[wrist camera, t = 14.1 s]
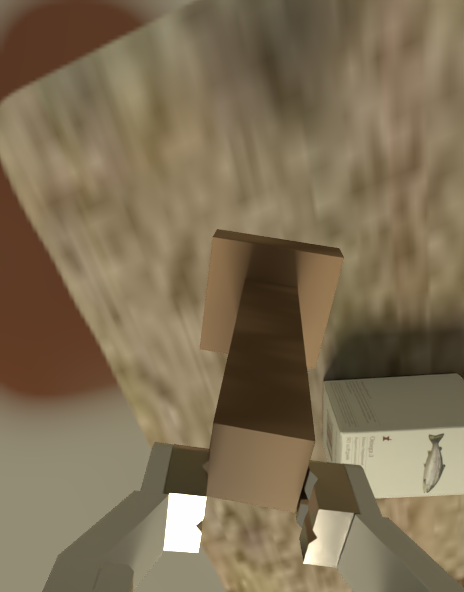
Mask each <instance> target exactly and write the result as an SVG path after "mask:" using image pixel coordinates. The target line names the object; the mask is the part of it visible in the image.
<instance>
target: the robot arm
mask: <svg viewBox="0 0 464 592" xmlns="http://www.w3.org/2000/svg"><path fill="white" fill-rule="evenodd" d="M209 460H210V451H209V449H205V448H198V447H190V446H183V445H176V444H174V446H173V445H172V444H166V443H158V442H155V443H154V445H153V446H152V450H151V454H150V458H149V461H148V465H147V469H146V472H145V476H144V480H143V483H142V487H141V491H134V492H133V493H131V494H130V495H129V496H128V497H126V498H125V499H124V500H123V501H122V502H121V503H119V504H118V505H117V506H116V507H115V508H113V509H112V510H111V511H110V512H109V513H108V514H106V515H105V516H104V517H103V518H102V519H101V520H99V521H98V522H97V523H96V524H95V525H93V526H92V527H91V528H90V529H89V530H88V531H87V532H85V533H84V534H83V535H82V536H81V537H79V538H78V539H77V540H76V541H75V542H73V544H71V545H70V546H69V547H68V548H66V549H65V550H64V551H63V552H62V553H61V554H59V555H58V557H57V559H56V562H55V564H54V566H53V568H52V571H51V573H50V575H49V578H48V580H47V582H46V584H45V587H44V589H43V591H42V592H133V591H134V590H135V588H136V587H137V586H138V584H139V583H140V582H141V580H142V579H143V578H144V577H145V575H146V574H147V573H148V572H149V570H150V569H151V568H152V566H153V565H154V564H155V563H156V561H157V560H158V559H159V558H160V556H161V555H162V554H163V552H164V550H170V551H184V552H185V551H186V552H198V550H199V544H200V537H201V530H202V519H203V517H204V510H205V502H206V494H207V483H208V467H209ZM295 514H296V521H297V523H298V524H299V525H300V527H301V528H302V529H301V533H300V537H299V540H300V546H301V552H302V558H303V563H305V564H313V565H320V566H328V567H336V568H337V570H338V572H339V573H340V575H341V576H342V578H343V579H344V580H345V582H346V583H347V585H348V586H349V588H350V589H351V590H352V592H464V588H463V587H462V586H461V585H460V584H459V583H458V582H457V581H456V580H455V579H454V578H452V577H451V576H450V575H449V574H448V573H447V572H446V571H445V570H444V569H443V568H442V567H441V566H440V565H439V564H437V563H436V562H435V561H434V560H433V559H432V558H431V557H430V556H429V555H428V554H427V553H426V552H425V551H423V550H422V549H421V548H420V547H419V546H418V545H417V544H416V543H415V542H414V541H413V540H412V539H411V538H409V537H408V536H407V535H406V534H405V533H404V532H403V531H402V530H401V529H400V528H399V527H398V526H397V525H396V524H394V523H393V522H392V521H391V520H390V519H389V518H386V517H382V514H381V512H380V509H379V507H378V504H377V502H376V499H375V497H374V494H373V492H372V489H371V487H370V484H369V482H368V479H367V477H366V474H365V472H364V469H363V467H362V466H361V465H354V464H344V463H342V464H340V463H331V462H322V461H312V460H310V462H309V465H308V469H307V473H306V476H305V480H304V483H303V487H302V490H301V494H300V497H299V501H298V504H297V508H296V511H295Z"/></svg>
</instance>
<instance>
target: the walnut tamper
mask: <svg viewBox="0 0 464 592" xmlns="http://www.w3.org/2000/svg"><path fill="white" fill-rule="evenodd" d="M343 260H344V257H343V255H342V253H341V251H340V249H339V248H334V247H327V246H321V245H315V244H308V243H302V242H296V241H289V240H283V239H277V238H270V237H264V236H258V235H251V234H245V233H239V232H232V231H226V230H219V229H217V231H216V232H215V234H214V236H213V239H212V247H211V256H210V265H209V273H208V282H207V291H206V299H205V308H204V317H203V325H202V334H201V343H200V349H202V350H208V351H214V352H220V353H225V354H228V358H227V363H226V367H225V372H224V377H223V381H222V386H221V390H220V395H219V399H218V404H217V408H216V413H215V418H214V422H213V429H212V436H211V442H210V449H209V451H210V460H209V467H208V483H207V494H206V496H209V497H214V498H220V499H225V500H230V501H236V502H241V503H246V504H252V505H257V506H262V507H267V508H273V509H278V510H283V511H289V512H294V513H295V511H296V508H297V504H298V501H299V497H300V494H301V490H302V487H303V483H304V480H305V476H306V473H307V469H308V465H309V462H310V458H311V455H312V451H313V448H314V444H315V435H314V426H313V417H312V408H311V400H310V391H309V382H308V373H307V368H313V369H315V368H316V364H317V360H318V357H319V353H320V349H321V345H322V341H323V337H324V333H325V329H326V326H327V322H328V318H329V314H330V310H331V306H332V302H333V298H334V295H335V291H336V287H337V283H338V279H339V275H340V271H341V267H342V264H343Z"/></svg>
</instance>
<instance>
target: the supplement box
mask: <svg viewBox="0 0 464 592" xmlns="http://www.w3.org/2000/svg"><path fill="white" fill-rule="evenodd" d="M323 445H324V449H325V453H326V456H327V460H328V462H331V463H340V464H342V463H344V464H354V465H361V466H362V467H363V469H364V472H365V474H366V477H367V479H368V482H369V484H370V487H371V489H372V492H373V494H374V497H375V498H394V497H417V496H438V495H457V494H464V379H463V378H462V377H461V376H460V375H459V374H458V373H453V374H438V375H420V376H403V377H385V378H368V379H351V380H334V381H324V382H323Z"/></svg>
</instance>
